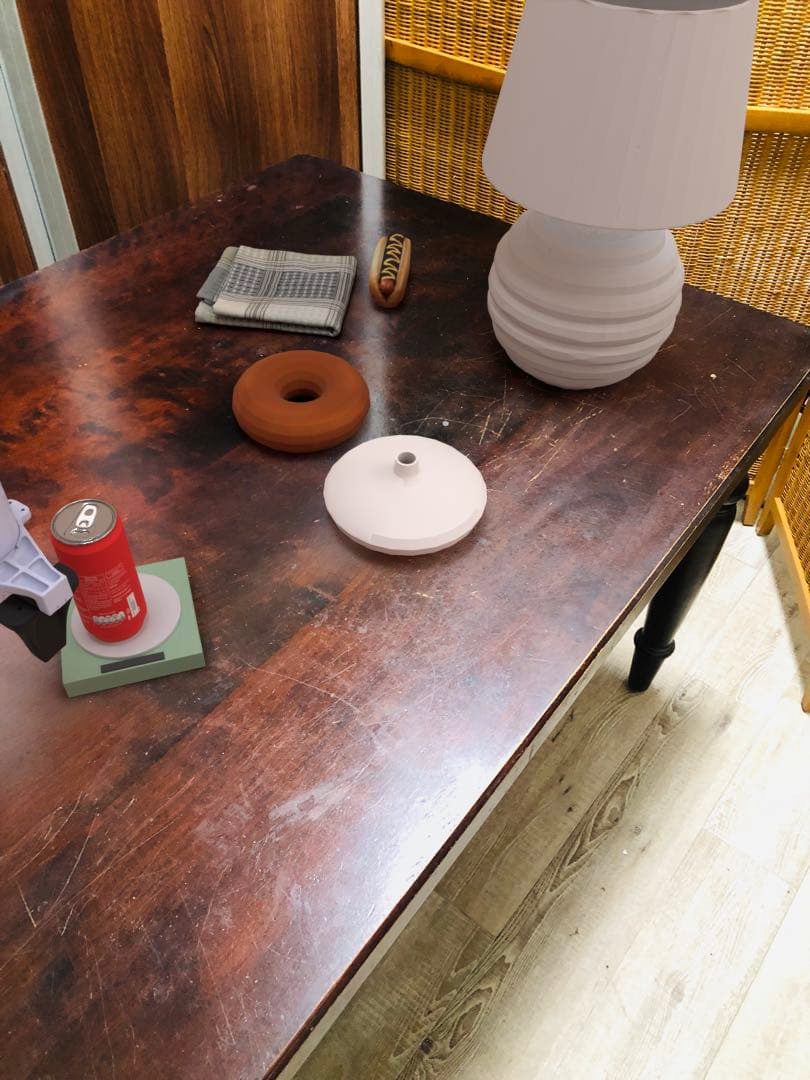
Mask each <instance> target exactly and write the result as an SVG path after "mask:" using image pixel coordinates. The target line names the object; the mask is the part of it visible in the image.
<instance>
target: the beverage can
mask: <svg viewBox="0 0 810 1080" xmlns="http://www.w3.org/2000/svg"><path fill="white" fill-rule="evenodd" d="M51 519H52V520H51V521H50V533H49V537H50V541H51V545H52V547H53V551H54V552H55V554H56V557H57V560H58V562H61V563H63V564H64V565H66V566H68V567H70V568H72V569H73V570H75V571H76V573H77V575H78V578H79V585H78V587H77V589H76V591H75V593H74V595H73V599H74V602H75V604H76V607H77V610H78V612H79V615H80V618H81V620H82V623H83V625H84V627H85V629H86V630H87V631H88V632H89V633H90V634H92V635H94V636H95V637H96V638H97V639H99V640H101V641H103V642H108V643H117V642H122V641H125V640H127V639H129V638H131V637H133V636H134V635H135V634H137V633H138V632H139V630H140V629H141V628H142V626H143V624H144V619H145V616H146V613H147V605H146V601H145V598H144V595H143V591H142V588H141V584H140V581H139V577H138V574H137V570H136V564H135V560H134V557H133V553H132V550H131V547H130V543H129V540H128V536H127V532H126V529H125V525H124V523H123V519H122V517H121V515H120V514H119V513H118V511H116V509H115V507H113V506H112V505H111V504H110V503H109V502H106V501H104V500H101V499H96V498H85V499H79V500H75V501H73V502H70V503H67V504H66V505H64V506H62V507H61V508H60V509H59V510H58V511H57V512H56V513H55V514H54V516H53V518H51Z"/></svg>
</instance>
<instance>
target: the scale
mask: <svg viewBox="0 0 810 1080" xmlns="http://www.w3.org/2000/svg"><path fill="white" fill-rule="evenodd" d="M135 567H136V570H137V574H138V577H139V581H140V584H141V588H142V591H143V595H144V598H145V601H146V605H147V613H146V616H145V619H144V624H143V626H142V628H141V629H140V630H139V632H138V633H137V634H135V635H134V636H133V637H131V638H129V639H127V640H125V641H122V642H117V643H108V642H103V641H101V640H99V639H97V638H96V637H95V636H94V635H92V634H90V633H89V632H88V631H87V630H86V629H85V627H84V625H83V623H82V620H81V618H80V615H79V612H78V610H77V607H76V604H75V602H74V599H73V597H72V600H71V602H70V605H69V609H68V614H67V641H66V645H65V646H64V647H63V648H62V649H61V650H60V660H61V662H60V663H61V676H62V677H61V679H62V686H63V688H64V690H65V692H66V694H67V697H68V698H74V697H78V696H82V695H87V694H92V693H96V692H101V691H104V690H108V689H113V688H119V687H121V686H127V685H131V684H134V683H139V682H144V681H148V680H152V679H157V678H161V677H167V676H171V675H175V674H179V673H182V672H186V671H191V670H196V669H200V668H205V667H206V665H207V664H206V661H205V655H204V650H203V645H202V640H201V633H200V629H199V625H198V624H199V623H198V620H197V615H196V610H195V609H196V608H195V603H194V599H193V598H194V597H193V594H192V588H191V582H190V578H189V572H188V568H187V564H186V559H185V557H184V556H182V557H176V558H173V559H167V560H161V561H157V562H156V561H155V562H151V563H147V564H143V565H137V566H136V565H135Z"/></svg>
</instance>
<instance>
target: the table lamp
mask: <svg viewBox="0 0 810 1080" xmlns="http://www.w3.org/2000/svg"><path fill="white" fill-rule="evenodd" d="M523 7H524V8H523V10H522V14H521V17H520V20H519V24H518V28H517V31H516V35H515V38H514V42H513V46H512V49H511V52H510V56H509V59H508V62H507V66H506V70H505V74H504V77H503V81H502V85H501V88H500V91H499V95H498V98H497V103H496V106H495V109H494V112H493V117H492V119H491V123H490V127H489V131H488V134H487V137H486V141H485V145H484V149H483V152H482V156H481V166H482V167H481V168H482V172H483V173H484V175H485V178H486V180H487V181H488V182H489V183H490V184H491V185H492V186H493V188H494V189H495V190H496V191H498V192H499V193H500V194H502V195H503V196H504V197H505V198H507V199H508V200H510V201H512V202H514V203H515V204H517V205H519V206H520V207H522V208H524V209H527V210H525V211H524V212H522V213H521V214H520V215H519V216H518V217H517V218H516V220H515V221H514V222H513V223H512V225H511V227H510V228H509V230H508V231H507V232H505V234H504V235H503V236H502V237H501V239H500V240H499V242H498V243H497V245H496V249H495V253H494V257H493V262H492V264H491V267H490V270H489V273H488V274H489V275H488V290H487V310H488V314H489V316H490V318H491V323H492V328H493V333H494V335H495V338H496V340H497V341H498V342H499V344H500V345H501V347H502V348H503V349H504V350H505V353H506V354H507V356H508V357H509V359H510V360H511V361H512V362H513V363H514V364H515V365H516V366H517V367H518V368H520V369H521V370H522V371H523V372H525V373H527V374H529V375H530V376H532V377H533V378H535V379H537V380H539V381H541V382H543V383H545V384H547V385H550V386H554V387H557V388H562V389H564V390H579V391H581V390H590V389H591V390H592V389H595V388H601V387H605V386H609V385H613V384H616V383H619V382H621V381H622V380H625V379H627V378H629V377H630V376H631V375H633V374H634V373H635V372H636V371H638V370H640V369H642V368H644V367H645V366H646V365H647V364H648V363H649V362H651V361H652V359H653V358H654V357H655V356H656V355H657V352H658V351H659V350H660V348H661V347H662V346H663V344H664V343H665V342H666V341H667V339H668V338H669V337H670V335H671V334H672V332H673V330H674V326H675V323H676V319H677V316H678V314H679V312H680V309H681V306H682V300H683V286H684V283H685V266H684V264H683V261H682V258H681V255H680V254H679V247H678V245H677V242H676V239H675V236H674V235H673V234H672V232H671V230H672V229H679V228H680V229H681V228H685V227H688V226H692V225H696V224H699V223H703V222H704V221H707V220H709V219H712V218H714V217H716V216H718V215H719V214H720V213H722V212H723V211H725V210H727V208H728V207H729V206H730V204H732V202H733V201H734V199H735V197H736V194H737V191H738V187H739V179H740V169H741V160H742V152H743V144H744V135H745V127H746V119H747V110H748V101H749V93H750V84H751V78H752V77H751V76H752V69H753V59H754V50H755V43H756V34H757V25H758V24H757V23H758V16H759V10H760V9H759V8H760V0H525V3H524V6H523Z"/></svg>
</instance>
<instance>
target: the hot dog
mask: <svg viewBox="0 0 810 1080" xmlns="http://www.w3.org/2000/svg"><path fill="white" fill-rule="evenodd" d="M411 253H412V244H411V239H409V238H408V237H405V235H404V234H402V233H400V232H397V231H396V232H391V233H390V234H388V235H387V236H382V237H381V238H380V239H379V240H378V242H377V244H376V246H375V248H374V251H373V253H372V256H371V259H370V264H369V267H368V291H369V293H370V294H369V295H370V296H371V298H372V300H373V301H374V302H375V304H377V306H379V307H384V308H396V307H398V305H399V304H400V302H401V301H402V299H403V298H404V295H405V291H406V287H407V284H408V280H409V275H410V274H409V273H410V267H411V255H412V254H411Z"/></svg>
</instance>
